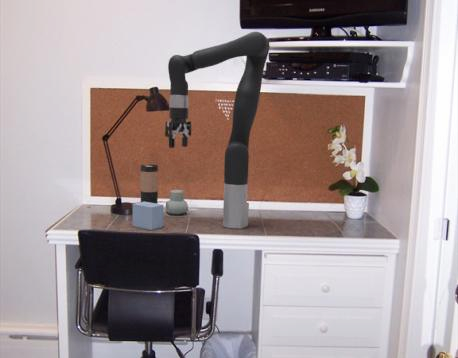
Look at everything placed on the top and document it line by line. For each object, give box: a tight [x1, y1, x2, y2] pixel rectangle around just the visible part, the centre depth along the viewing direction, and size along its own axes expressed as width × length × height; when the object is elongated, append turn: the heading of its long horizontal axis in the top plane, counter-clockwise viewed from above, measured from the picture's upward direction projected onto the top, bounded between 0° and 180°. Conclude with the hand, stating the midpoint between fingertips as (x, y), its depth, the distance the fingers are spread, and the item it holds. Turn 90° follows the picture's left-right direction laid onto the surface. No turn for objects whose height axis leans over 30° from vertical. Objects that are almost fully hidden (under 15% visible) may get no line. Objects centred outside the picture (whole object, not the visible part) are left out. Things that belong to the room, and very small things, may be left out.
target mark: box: [131, 225, 165, 231], centre depth 198 cm, size 10×8×1 cm
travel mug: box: [140, 163, 159, 204], centre depth 227 cm, size 8×8×20 cm
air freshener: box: [165, 189, 189, 216], centre depth 222 cm, size 11×8×10 cm
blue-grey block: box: [132, 201, 164, 231], centre depth 197 cm, size 10×7×9 cm
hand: (178, 147), depth 206 cm, fingers open, 8 cm apart
